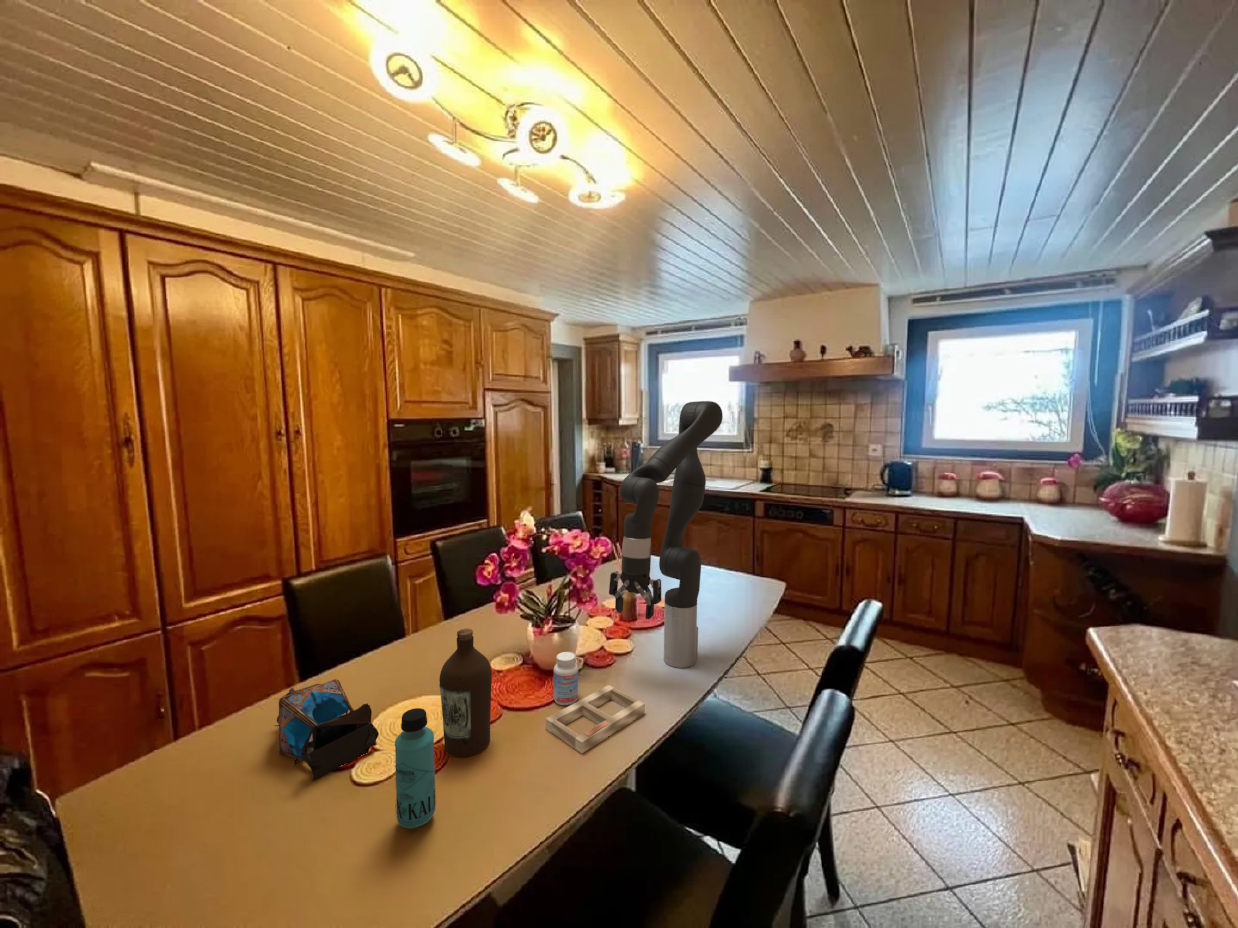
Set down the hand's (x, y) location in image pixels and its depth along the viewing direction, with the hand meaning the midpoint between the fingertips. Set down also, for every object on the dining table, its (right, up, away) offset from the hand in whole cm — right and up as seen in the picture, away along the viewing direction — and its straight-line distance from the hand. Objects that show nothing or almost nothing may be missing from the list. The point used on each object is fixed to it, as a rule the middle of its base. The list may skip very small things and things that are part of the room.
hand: (633, 615), depth 134 cm
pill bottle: (-17, -19, -7) cm, 27 cm away
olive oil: (-36, -21, -24) cm, 48 cm away
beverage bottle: (-39, -23, -45) cm, 64 cm away
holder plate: (-9, -20, -16) cm, 27 cm away
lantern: (-68, -21, -25) cm, 75 cm away
